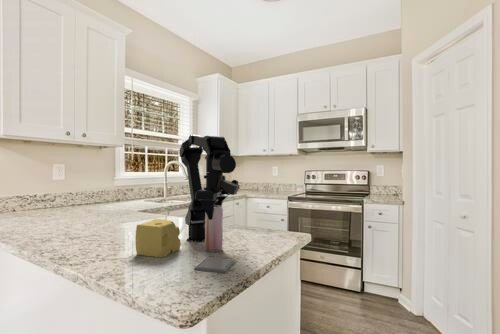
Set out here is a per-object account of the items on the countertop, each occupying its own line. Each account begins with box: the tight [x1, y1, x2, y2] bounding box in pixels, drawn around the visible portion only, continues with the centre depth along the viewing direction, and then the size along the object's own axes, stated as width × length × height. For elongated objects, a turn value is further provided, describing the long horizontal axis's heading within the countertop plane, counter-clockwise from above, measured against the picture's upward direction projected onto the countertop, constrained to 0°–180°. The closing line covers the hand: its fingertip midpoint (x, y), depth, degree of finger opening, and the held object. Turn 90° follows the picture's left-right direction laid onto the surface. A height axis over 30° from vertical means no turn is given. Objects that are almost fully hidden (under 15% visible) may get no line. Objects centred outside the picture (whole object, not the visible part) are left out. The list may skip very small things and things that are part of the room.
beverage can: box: [204, 205, 224, 253], centre depth 95 cm, size 6×6×15 cm
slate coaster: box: [194, 257, 236, 274], centre depth 80 cm, size 9×9×1 cm
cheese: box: [135, 218, 181, 258], centre depth 92 cm, size 10×11×10 cm
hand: (214, 217), depth 95 cm, fingers closed on beverage can, 6 cm apart
